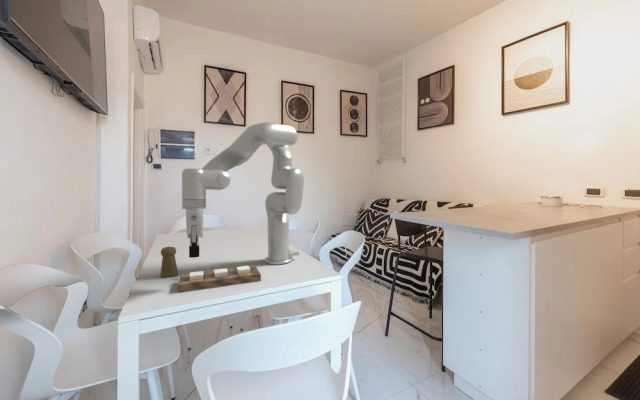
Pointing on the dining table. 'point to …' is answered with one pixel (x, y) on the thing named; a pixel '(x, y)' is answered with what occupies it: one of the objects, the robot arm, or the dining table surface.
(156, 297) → the dining table surface
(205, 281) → the button board
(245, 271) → the inner button
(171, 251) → the cork
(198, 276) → the outer button
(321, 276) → the dining table surface
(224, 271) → the middle button
